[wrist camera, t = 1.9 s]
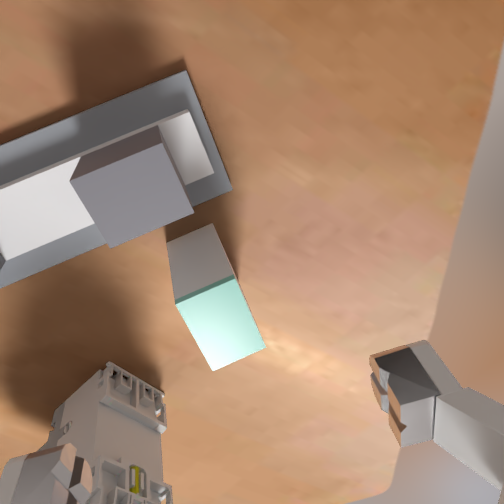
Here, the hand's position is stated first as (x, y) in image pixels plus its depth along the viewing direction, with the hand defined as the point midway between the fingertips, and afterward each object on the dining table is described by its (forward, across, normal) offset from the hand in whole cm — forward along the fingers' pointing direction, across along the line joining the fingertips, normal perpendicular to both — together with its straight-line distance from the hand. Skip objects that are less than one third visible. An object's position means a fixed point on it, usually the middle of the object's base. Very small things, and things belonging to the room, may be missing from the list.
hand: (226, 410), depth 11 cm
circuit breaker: (+23, -19, -26) cm, 40 cm away
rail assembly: (+25, -12, -2) cm, 28 cm away
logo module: (+26, -2, -12) cm, 28 cm away
